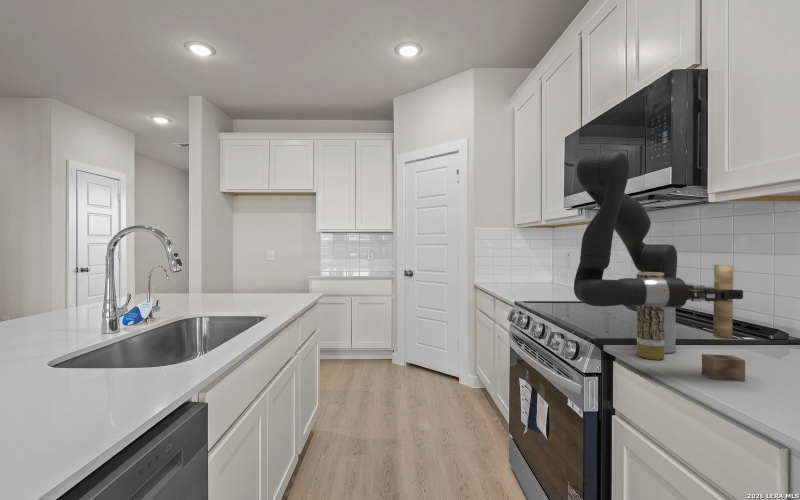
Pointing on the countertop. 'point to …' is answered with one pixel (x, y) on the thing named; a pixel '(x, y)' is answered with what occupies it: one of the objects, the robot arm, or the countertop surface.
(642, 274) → the brown bark cylinder
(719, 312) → the dowel
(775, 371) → the countertop surface
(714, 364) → the wooden block
